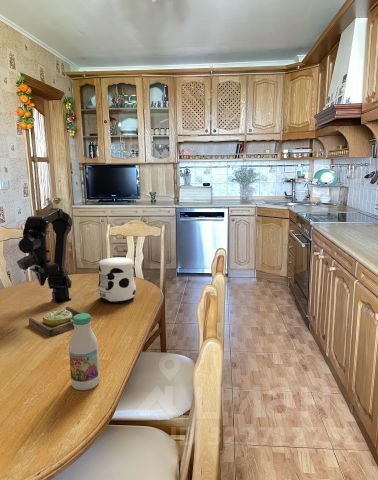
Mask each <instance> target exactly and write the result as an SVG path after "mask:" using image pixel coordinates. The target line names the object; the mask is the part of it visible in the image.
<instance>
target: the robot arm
mask: <svg viewBox="0 0 378 480" xmlns="http://www.w3.org/2000/svg"><path fill="white" fill-rule="evenodd" d="M49 224H51V225H52V229H53V232H54V234H55V242H54V253H53V254H54V256H53V262H51V260H50V259H49V258H48V253H50V249H47V248H48V246H47V245H48V244H47V235H48V232H47V230H48V229H49V227H50V225H49ZM73 224H74V223H73V218H72V217H71V216H70V214H69V213H67V212H65V211H63V209H62V208H59V207H52V208H49V209H48V210H47V211H44V212H43V213H40V214H39V215H31V216H30V215H29V216H28V217H27V219H26V220H25V223H24V228H23V230H22V238H21V239H20V240H19V242H18V249H19V251H20V252H22V253H23V254H28V255H26V256H24V257H22V258H20V259H18V260H16V263H17V266H18V268H19V269H20V270H23V271H26V270H28V269H29V270H30V271H31V272H33V273H34V274H35V276H36V279H37V281H38V283H39V286H41V287H42V286H44V285H45V283H46V281H47V284H48V288H49V290H52V291H51V298H52V299H51V301H52V302H55V303H57V304H63V303H65V302H68V301H71V300H72V298H70V290H69V289H71V288H72V280H71V278H70V277H69V273H68V271H67V269H66V253H67V240H68V235H69V234H70V232H71V231H72V226H73Z"/></svg>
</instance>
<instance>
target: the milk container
mask: <svg viewBox="0 0 378 480" xmlns="http://www.w3.org/2000/svg"><path fill="white" fill-rule="evenodd" d="M98 278H99V279H98V285H97V294H98V298H99V299H100V300H101V301H103V302H106V303H115V304H116V303H122V302H127V301H130V300H132V299H133V298H134V297H135V295H136V292H137V290H136V289H137V287H136V282H135V280H134V279H135V278H134V262H133V259H131V258H128V257H108V258H103V259H101V260H99V261H98Z"/></svg>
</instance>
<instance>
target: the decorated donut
mask: <svg viewBox="0 0 378 480" xmlns="http://www.w3.org/2000/svg"><path fill="white" fill-rule="evenodd" d="M71 319H72V320H73V315H72V313H71V312H69V311H67V310H66V309H59V310H58V309H57V310H52V311H48V312H47V313H45V314H44V315H43V316H42V322H43V323H44V325H45V326H47V327H57V326H59V325H62V324H65V323H68V322H71Z"/></svg>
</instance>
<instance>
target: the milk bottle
mask: <svg viewBox="0 0 378 480" xmlns="http://www.w3.org/2000/svg"><path fill="white" fill-rule="evenodd" d="M91 320H92V319H91V314H89V313H87V312H86V313H85V312H82V314H77V315H75V316H72V321H73V325H74V328H73V332H72V335H71V337H70V340H69V345H68V346H69V347H68V348H69V349H68V352H69V353H68V354H69V357H68V358H69V370H70V371H69V372H70V382H71V386H72V388H73V389H74V390H77V391H88V390H91V389H94V388H96V387H97V386H98V385H99V382H100V380H101V379H100V378H101V374H100V358H99V346H98V339H97V337H96V335H95V333H94V332H93V329H92V327H91V323H92V322H91Z"/></svg>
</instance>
